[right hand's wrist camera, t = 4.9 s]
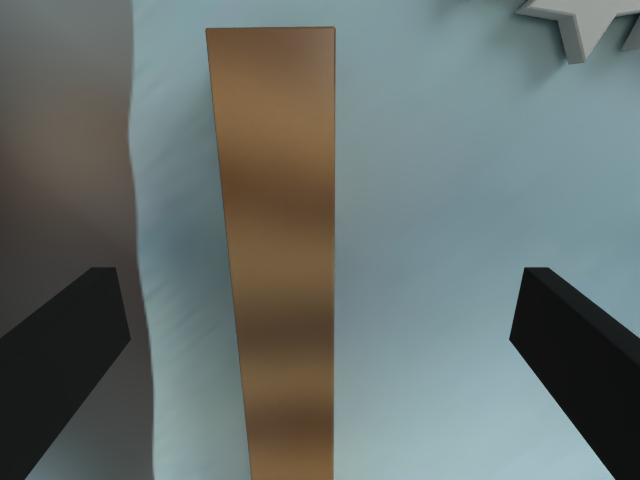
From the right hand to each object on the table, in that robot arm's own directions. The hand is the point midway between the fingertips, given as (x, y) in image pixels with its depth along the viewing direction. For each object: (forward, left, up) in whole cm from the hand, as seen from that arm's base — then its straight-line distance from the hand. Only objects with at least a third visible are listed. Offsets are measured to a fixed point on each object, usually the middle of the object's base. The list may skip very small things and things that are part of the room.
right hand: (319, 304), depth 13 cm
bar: (+20, +6, -14) cm, 25 cm away
